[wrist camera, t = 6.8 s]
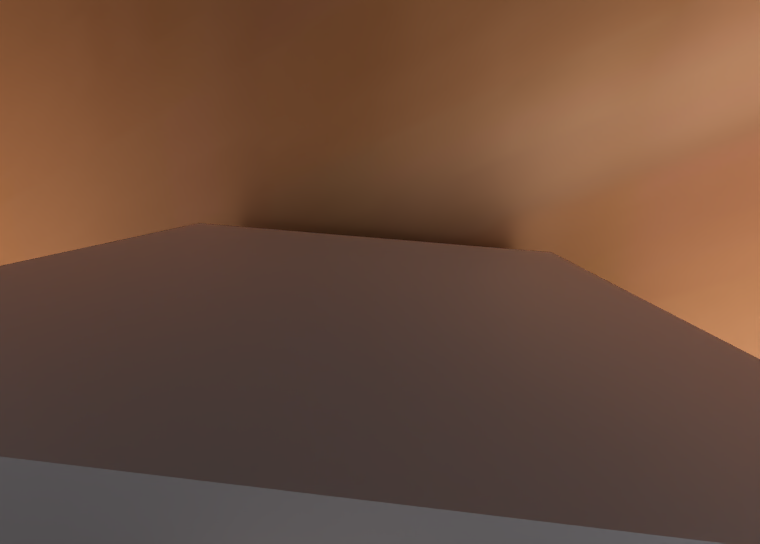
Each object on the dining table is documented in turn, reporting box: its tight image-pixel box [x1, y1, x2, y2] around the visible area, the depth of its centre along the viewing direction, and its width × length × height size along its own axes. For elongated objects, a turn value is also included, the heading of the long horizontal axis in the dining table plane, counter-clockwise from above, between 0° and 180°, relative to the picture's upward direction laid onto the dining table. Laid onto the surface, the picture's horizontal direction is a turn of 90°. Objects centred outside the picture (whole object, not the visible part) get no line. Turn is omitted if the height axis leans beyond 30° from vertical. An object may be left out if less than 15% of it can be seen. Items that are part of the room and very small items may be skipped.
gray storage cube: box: [0, 223, 760, 544], centre depth 8 cm, size 10×10×9 cm
